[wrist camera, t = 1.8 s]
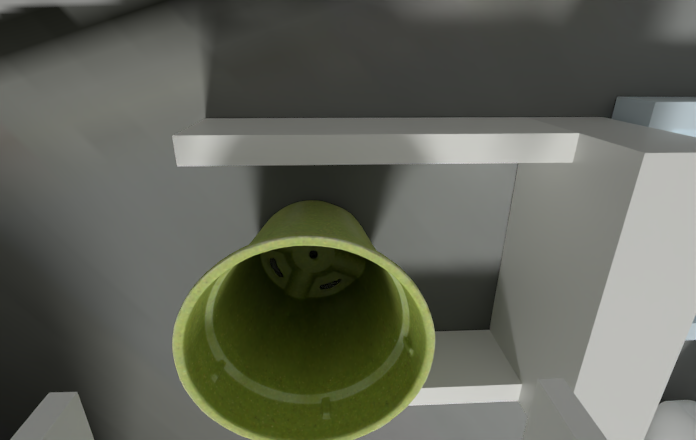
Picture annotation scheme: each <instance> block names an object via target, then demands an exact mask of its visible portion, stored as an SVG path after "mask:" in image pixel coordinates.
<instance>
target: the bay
mask: <svg viewBox="0 0 696 440" xmlns="http://www.w3.org/2000/svg"><path fill="white" fill-rule="evenodd" d="M172 138H173V144H174V150H175V156H176V162H177V166H267V165H370V164H472V163H518V168H517V174H516V180H515V185H514V191H513V197H512V203H511V208H510V214H509V220H508V225H507V231H506V237H505V243H504V248H503V254H502V260H501V266H500V271H499V277H498V283H497V288H496V294H495V300H494V306H493V311H492V317H491V323H490V329H489V330H465V331H435V352H434V357H433V362H432V365H431V369H430V372H429V375H428V378H427V380H426V382H425V383H424V385H423V387H422V388H421V390H420V391H419V393H418V394H417V396H416V397H415V398H414V399H413V401H412V402H411V403H410V404H409V405H408V406H412V405H435V404H459V403H483V402H506V401H518V402H519V403H520V405H521V407H522V409H523V410H524V412H525V414H526V416H527V418H528V415H529V411H530V408H531V404H532V400H533V396H534V392H535V388H536V384H537V380H538V379H555V378H563V379H564V380H565V381H566V383H567V384H568V386H569V387H570V388H571V390H572V391H573V393H574V394H575V395H576V397H577V398H578V399H579V401H580V402H581V404H582V405H583V406H584V408H585V409H586V411H587V412H588V413H589V415H590V416H591V418H592V419H593V420H594V422H595V423H596V425H597V426H598V427H599V429H600V430H601V432H602V433H603V434H604V436H605V437H606V439H607V440H644V438H645V436H646V433H647V431H648V429H649V426H650V424H651V421H652V419H653V417H654V414H655V412H656V409H657V407H658V404H659V402H660V400H661V397H662V395H663V392H664V390H665V388H666V385H667V383H668V380H669V378H670V376H671V373H672V371H673V368H674V366H675V363H676V361H677V359H678V356H679V354H680V351H681V349H682V347H683V344H684V342H685V339H686V337H687V334H688V332H689V330H690V327H691V325H692V322H693V320H694V318H695V315H696V137H692V136H687V135H683V134H678V133H674V132H669V131H665V130H660V129H655V128H651V127H646V126H642V125H637V124H632V123H628V122H623V121H619V120H614V119H610V118H605V117H447V118H205V119H203V120H201V121H199V122H197V123H195V124H193V125H191V126H190V127H188V128H186V129H184V130H182V131H180V132H178V133H176V134H174V135H172Z"/></svg>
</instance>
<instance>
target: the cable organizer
mask: <svg viewBox="0 0 696 440" xmlns="http://www.w3.org/2000/svg"><path fill="white" fill-rule="evenodd" d="M644 440H696V402H695V401H692V400H672V401H664V402H662V403H660V404H659V405H658V407H657V409H656V412H655V414H654V417H653V419H652V421H651V424H650V426H649V429H648V431H647V433H646V436H645V438H644Z"/></svg>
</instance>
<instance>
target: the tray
mask: <svg viewBox="0 0 696 440" xmlns="http://www.w3.org/2000/svg"><path fill="white" fill-rule="evenodd" d="M612 119H614V120H619V121H623V122H628V123H632V124H637V125H642V126H646V127H651V128H655V129H660V130H665V131H669V132H674V133H678V134H683V135H687V136H692V137H696V97H617V99H616V103H615V107H614V111H613V115H612ZM685 340H696V315H695V318H694V320H693V322H692V325H691V327H690V330H689V332H688V334H687V337H686V339H685Z"/></svg>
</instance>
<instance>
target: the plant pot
mask: <svg viewBox="0 0 696 440" xmlns="http://www.w3.org/2000/svg"><path fill="white" fill-rule="evenodd" d="M313 250H314V251H317V253H318V256H317V258H311V257H310V256H309V252H310V251H313ZM271 258H274V259H275V261H276V264H277V266H278V268H279V270H280V272H281V273H282V274H283V275H284V276H283V277H279V276H278V275H277V274H276V273H275V272H274V270H273V269H272V267H271V264H270V259H271ZM338 279H341V280H340V282H339V283H338V284H337V285H335V286H334V287H332V288H329V289H320V285H322V284H327V283H330V282H333V281H335V280H336V281H337V280H338ZM172 351H173V357H174V362H175V366H176V369H177V372H178V376H179V378H180V380H181V382H182V385H183V387H184V388H185V390H186V392H187V393H188V394H189V396H190V397H191V398H192V400H193V401H194V402H195V403H196V405H197V406H198V407H199V408H200V409H201V410H202V411H203V412H204V413H205V414H206V415H208V416H209V417H210V418H211V419H212V420H214V421H216V422H217V423H219V424H220V425H222V426H223V427H225V428H226V429H228V430H230V431H233V432H235V433H236V434H238V435H240V436H243V437H246V438H249V439H252V440H354V439H357V438H359V437H362V436H364V435H367V434H368V433H370V432H372V431H375V430H377V429H379V428H380V427H382V426H384V425H385V424H386V423H388V422H390V421H391V420H392V419H393V418H394V417H396V416H397V415H398V414H399V413H401V412H402V411H403V410H404V409H405V408H406V407H407V406H408V405H409V404H410V403H411V402H412V401H413V399H414V398H415V397H416V396H417V394H418V393H419V391H420V390H421V388H422V387H423V385H424V383H425V382H426V380H427V378H428V375H429V372H430V369H431V365H432V362H433V357H434V352H435V329H434V324H433V319H432V316H431V313H430V310H429V308H428V305H427V303H426V301H425V299H424V297H423V296H422V294H421V292H420V290H419V289H418V287H417V286H416V284H415V283H414V282H413V280H412V279H411V278H410V277H409V276H408V275H407V274H406V273H405V272H404V271H403V270H402V269H401V268H400V267H399V266H398V265H397V264H395V263H394V262H393V261H391V260H390V259H388V258H387V257H386V256H384V255H383V254H381V253H379V252H377V251H376V250H375V248H374V246H373V245H372V243H371V241H370V240H369V238H368V236H367V235H366V233H365V231H364V230H363V228H362V227H361V225H360V224H359V222H358V221H357V220H356V219H355V218H354V216H352V215H351V214H350V213H349V212H348V211H346V210H344V209H342V208H340V207H338V206H335V205H333V204H330V203H326V202H323V201H318V200H308V201H300V202H296V203H293V204H290V205H288V206H286V207H284V208H283V209H281V210H279V211H278V212H277V213H275V214H274V215H273V216H272V217H271V218H270V219H269V220H268V222H267V223H266V224H265V225H264V226H263V228H262V229H261V230H260V232H259V233H258V234H257V236H256V237H255V238H254V239H253V241H252V242H251V243H250V244H249V245H248V246H245V247H243V248H241V249H239V250H237V251H235V252H234V253H232V254H230V255H228V256H227V257H225V258H224V259H222V260H221V261H219V262H218V263H217V264H216V265H215V266H213V267H212V268H211V269H210V270H209V271H207V272H206V273H205V274H204V275H203V276H202V277H201V278H200V279H199V281H198V282H197V283H196V284H195V285H194V286H193V288H192V289H191V290H190V292H189V294H188V295H187V297H186V298H185V300H184V302H183V304H182V306H181V308H180V311H179V313H178V316H177V319H176V322H175V325H174V331H173V340H172Z"/></svg>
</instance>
